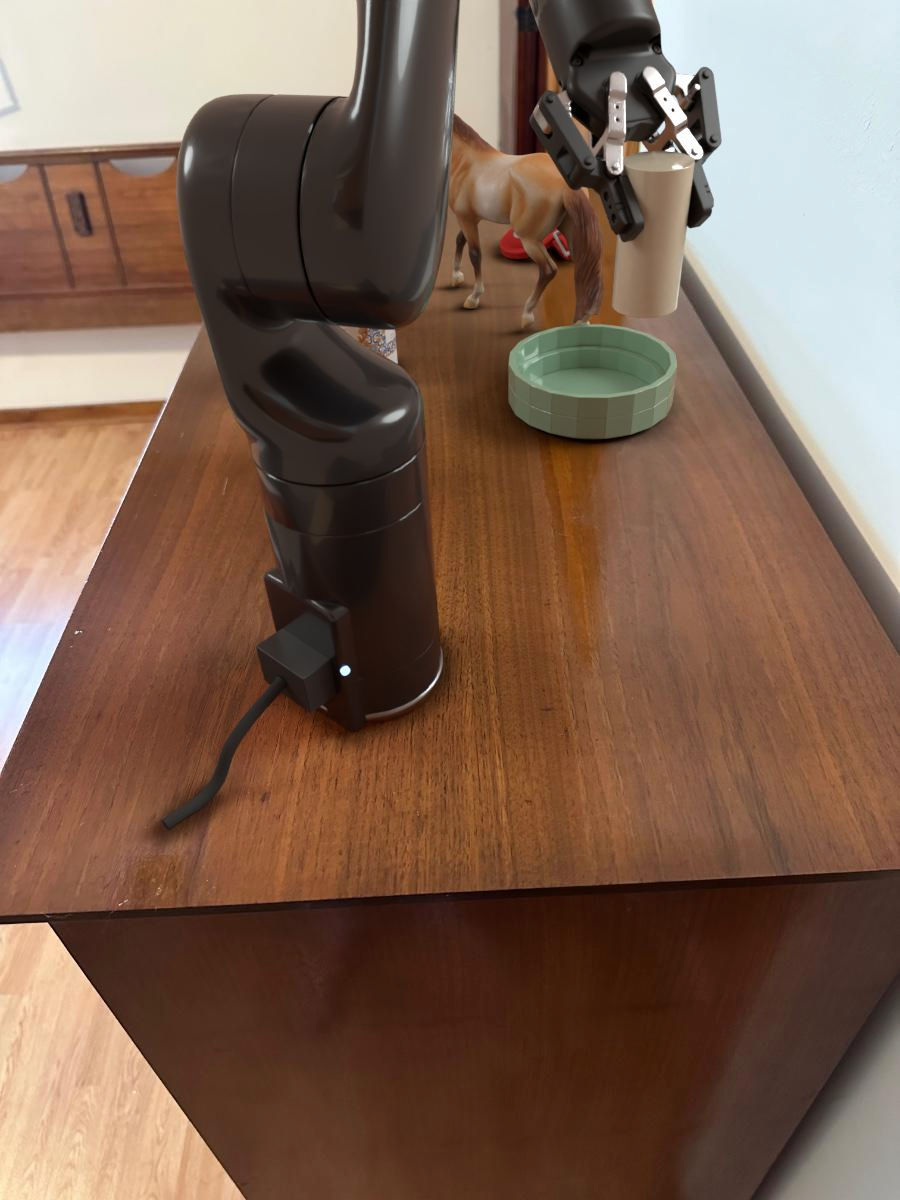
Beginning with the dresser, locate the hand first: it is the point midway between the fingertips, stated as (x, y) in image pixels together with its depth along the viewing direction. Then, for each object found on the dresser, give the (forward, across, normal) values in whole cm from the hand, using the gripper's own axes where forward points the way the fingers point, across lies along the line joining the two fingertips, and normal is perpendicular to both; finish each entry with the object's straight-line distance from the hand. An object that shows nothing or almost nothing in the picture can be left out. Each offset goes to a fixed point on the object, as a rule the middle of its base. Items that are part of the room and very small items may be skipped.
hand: (667, 227), depth 61 cm
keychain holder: (-23, +19, +49) cm, 58 cm away
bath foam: (-7, -14, +36) cm, 39 cm away
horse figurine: (-9, +3, +39) cm, 40 cm away
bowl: (+5, +3, +24) cm, 25 cm away
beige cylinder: (+3, 0, +6) cm, 6 cm away
